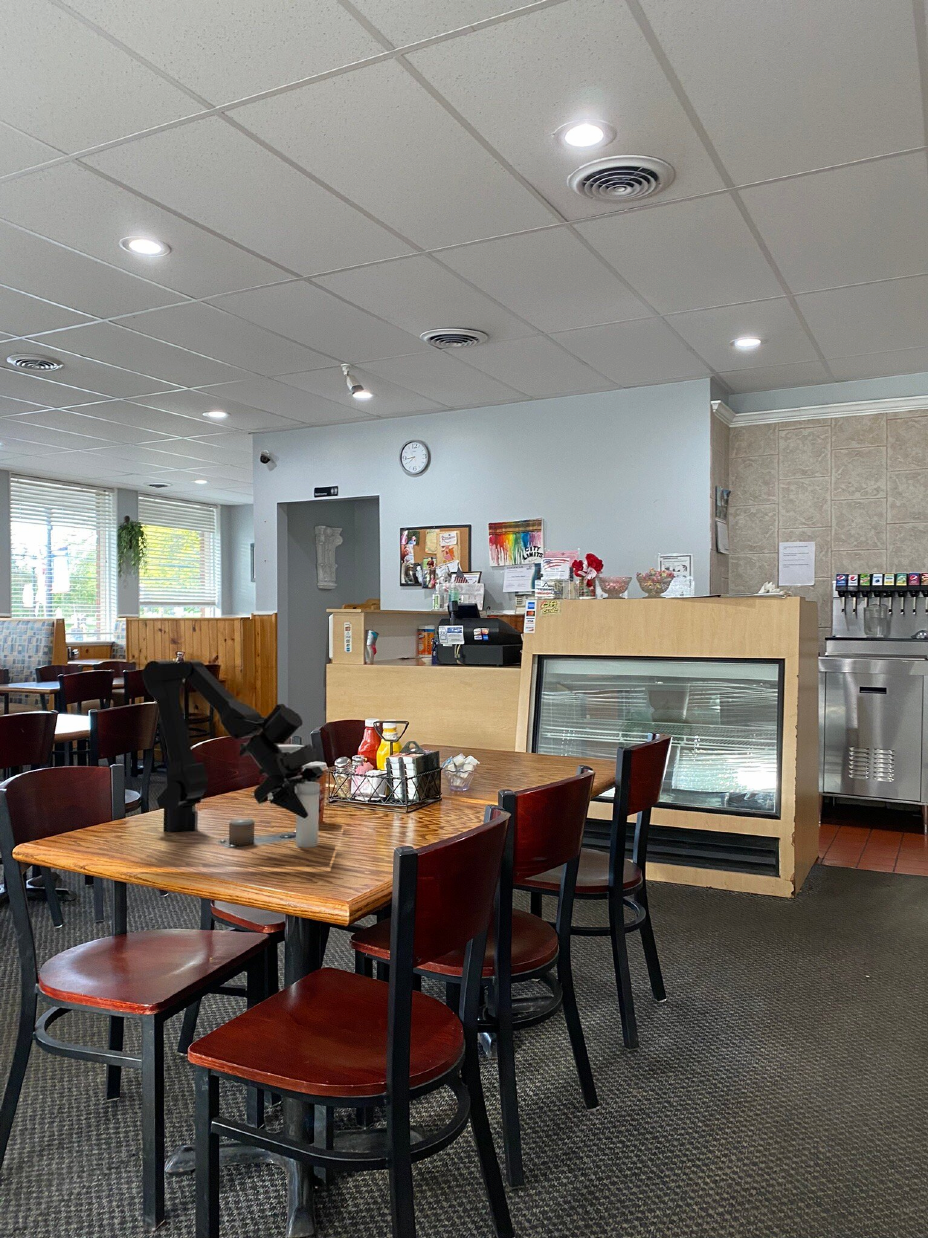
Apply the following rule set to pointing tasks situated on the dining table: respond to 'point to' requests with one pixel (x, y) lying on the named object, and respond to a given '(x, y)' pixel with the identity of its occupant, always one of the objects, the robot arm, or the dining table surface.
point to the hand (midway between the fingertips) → (313, 814)
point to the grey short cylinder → (241, 831)
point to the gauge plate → (263, 839)
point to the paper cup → (321, 785)
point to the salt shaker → (308, 825)
